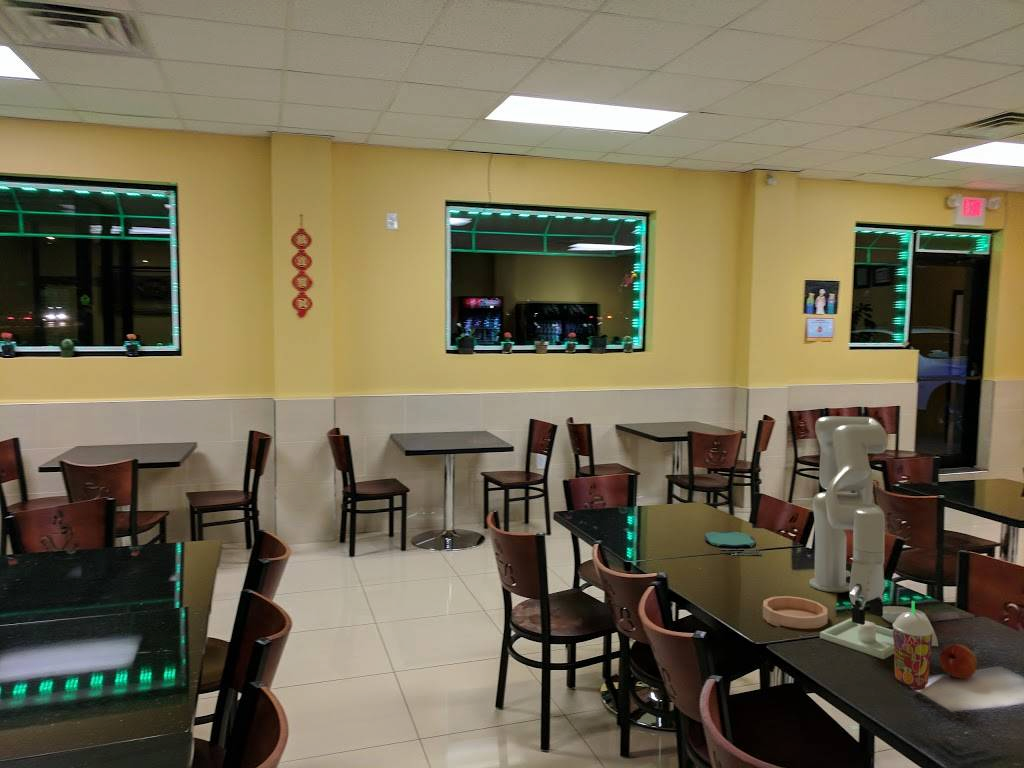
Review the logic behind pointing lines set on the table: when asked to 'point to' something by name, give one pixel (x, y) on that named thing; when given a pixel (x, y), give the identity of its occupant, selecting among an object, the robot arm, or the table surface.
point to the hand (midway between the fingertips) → (867, 619)
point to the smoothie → (912, 648)
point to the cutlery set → (732, 541)
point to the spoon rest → (894, 611)
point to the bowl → (794, 612)
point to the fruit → (958, 661)
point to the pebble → (867, 632)
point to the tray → (848, 637)
